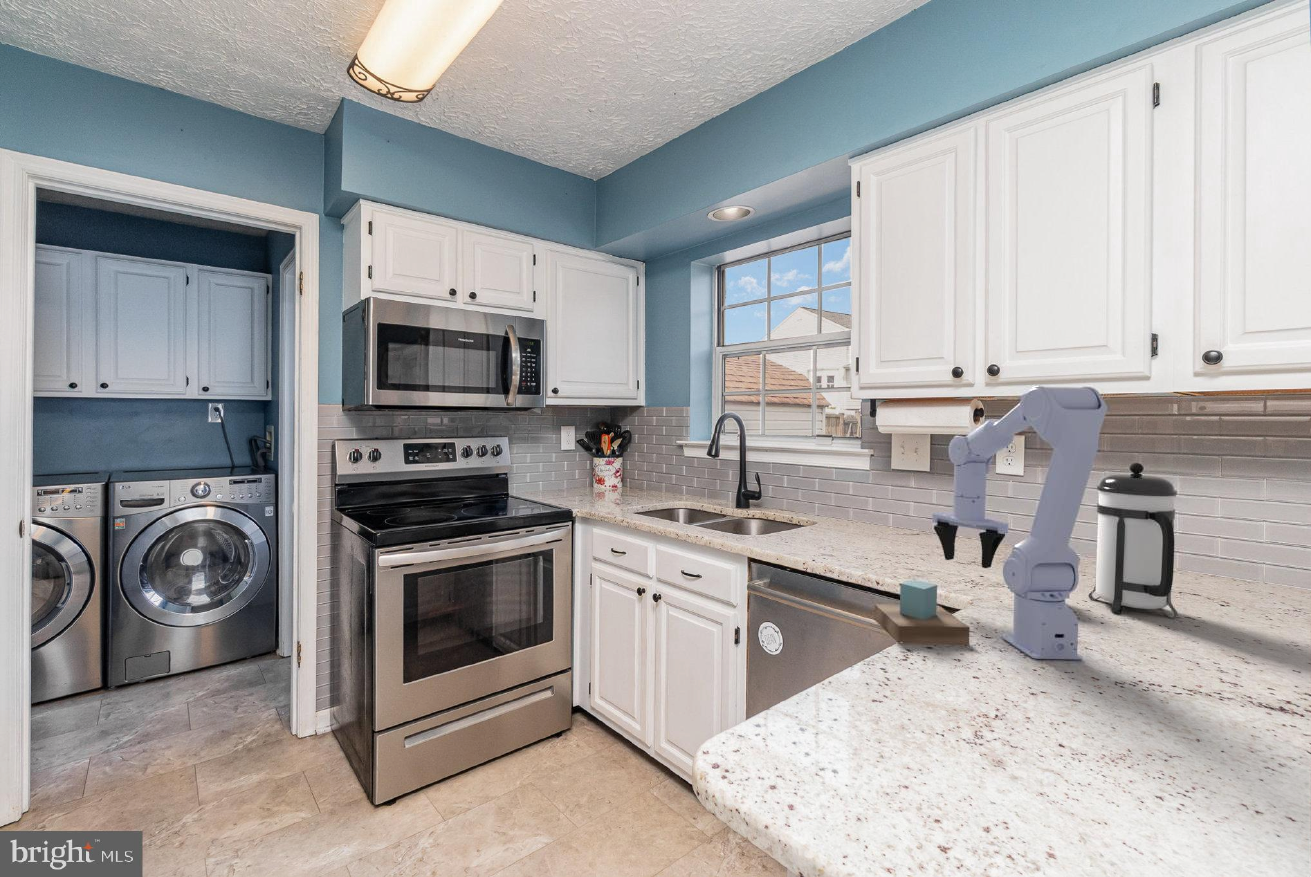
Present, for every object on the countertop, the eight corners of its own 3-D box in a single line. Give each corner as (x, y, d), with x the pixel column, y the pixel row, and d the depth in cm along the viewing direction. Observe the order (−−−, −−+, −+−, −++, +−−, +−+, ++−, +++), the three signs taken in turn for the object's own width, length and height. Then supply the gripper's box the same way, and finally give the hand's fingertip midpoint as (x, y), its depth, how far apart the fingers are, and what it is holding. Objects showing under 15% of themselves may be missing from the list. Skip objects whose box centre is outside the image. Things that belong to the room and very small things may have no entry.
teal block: (936, 615, 109) (937, 585, 109) (923, 620, 106) (924, 589, 106) (912, 608, 112) (913, 579, 112) (899, 613, 110) (900, 583, 109)
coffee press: (1068, 603, 126) (1073, 461, 125) (1109, 593, 134) (1114, 459, 133) (1168, 629, 111) (1175, 468, 110) (1209, 617, 118) (1215, 465, 117)
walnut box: (969, 647, 103) (969, 627, 103) (898, 646, 103) (899, 626, 103) (937, 623, 115) (937, 605, 115) (874, 622, 115) (874, 604, 115)
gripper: (1017, 499, 117) (1015, 568, 117) (946, 491, 129) (944, 553, 130) (998, 501, 113) (996, 573, 114) (927, 493, 125) (925, 557, 126)
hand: (967, 563), depth 121 cm, fingers open, 7 cm apart
